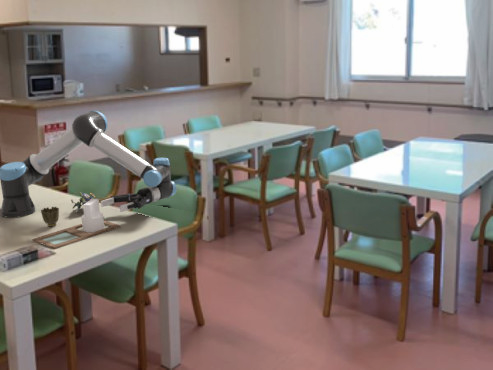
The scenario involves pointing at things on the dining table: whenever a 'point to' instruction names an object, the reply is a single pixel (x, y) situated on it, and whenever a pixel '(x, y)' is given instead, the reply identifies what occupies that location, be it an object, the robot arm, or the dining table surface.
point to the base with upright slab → (92, 216)
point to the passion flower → (83, 199)
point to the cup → (50, 216)
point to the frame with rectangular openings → (63, 238)
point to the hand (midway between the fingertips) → (110, 206)
